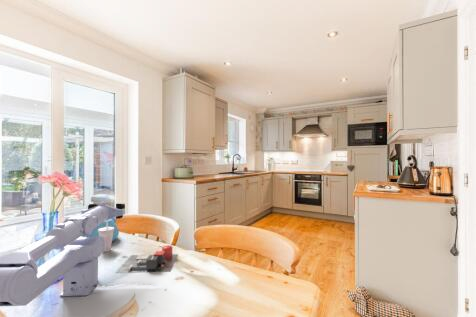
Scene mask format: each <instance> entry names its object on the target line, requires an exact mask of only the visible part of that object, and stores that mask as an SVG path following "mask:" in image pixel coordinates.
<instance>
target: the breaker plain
mask: <svg viewBox="0 0 476 317" xmlns="http://www.w3.org/2000/svg"><path fill="white" fill-rule="evenodd" d="M157 266H158V256H149V257H148V259H147V260H146V269H156V267H157Z"/></svg>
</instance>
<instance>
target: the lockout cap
mask: <svg viewBox="0 0 476 317" xmlns="http://www.w3.org/2000/svg"><path fill="white" fill-rule="evenodd" d="M161 251H165V259H170V258H172V254H173V246H172V245H170V244H169V245H163V246H162V247H161Z"/></svg>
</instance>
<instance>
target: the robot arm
mask: <svg viewBox="0 0 476 317" xmlns="http://www.w3.org/2000/svg"><path fill="white" fill-rule="evenodd" d="M106 203H107V202H106V201H100V202H99V203H98V204H96V203H90V204H89V205H87V209H86V208H84V209H83V210H81V214H80V215H78V216H69V217H68V216H67V217H66V218H64V220H63V222H61V223H58V224H56V225H55V226H56V227H54V228H52V229H49V231H48V232H47V233H46V234H45V237H44V238H41V239H39V240H37V241H35V242H33V243H30V244H28V245H26V246H24V247H22V248H19V249H17V250H15V251H12V252H10V253H8V254H3V255H0V307H21V306H23V307H25V306H27V305H28V304H30V303H31V302H32V301H33V300H35V299H36V298H38V296H40V295H41V294H43V292H45V291H46V290H48V288H49V287H51V286H52V285H53V284H55V282H57V281H58V280H60V278H62V277H63V279H62V280H63V284H62V286H63V287H62V292H61V293H60V294H59V296H60V297H78V296H79V297H81V296H82V297H83V296H88V295H89V294H91V292H93V291H94V290H95V289H96V288H97V287H98V284H97V282H98V279H99V258H100V257H101V255H102V254H103V253H104V252H103V251H104V248H105V240H104V238H103V237H102V236H99V237H82V236H87V235H90V234H91V233H92V231H93V229H94V228H96V226H98V225H99V224H101V223H102V222H104V221H106V220H109V219H112V218H115V219H116V220H118V219H119V220H120V219H123V217H124V215H126V203H115V207H114V206H110V205H107V204H106ZM53 250H60V252H59V253H58V254H56V255H55V256H53V257H51V258H50V259H48V260H46V261H45V262H43V263H42V264H40V265H39V266H37V262H38V261H40V260H41V259H42V258H43V257H45V256H46V255H47V254H49V253H50V252H51V251H53Z"/></svg>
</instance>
